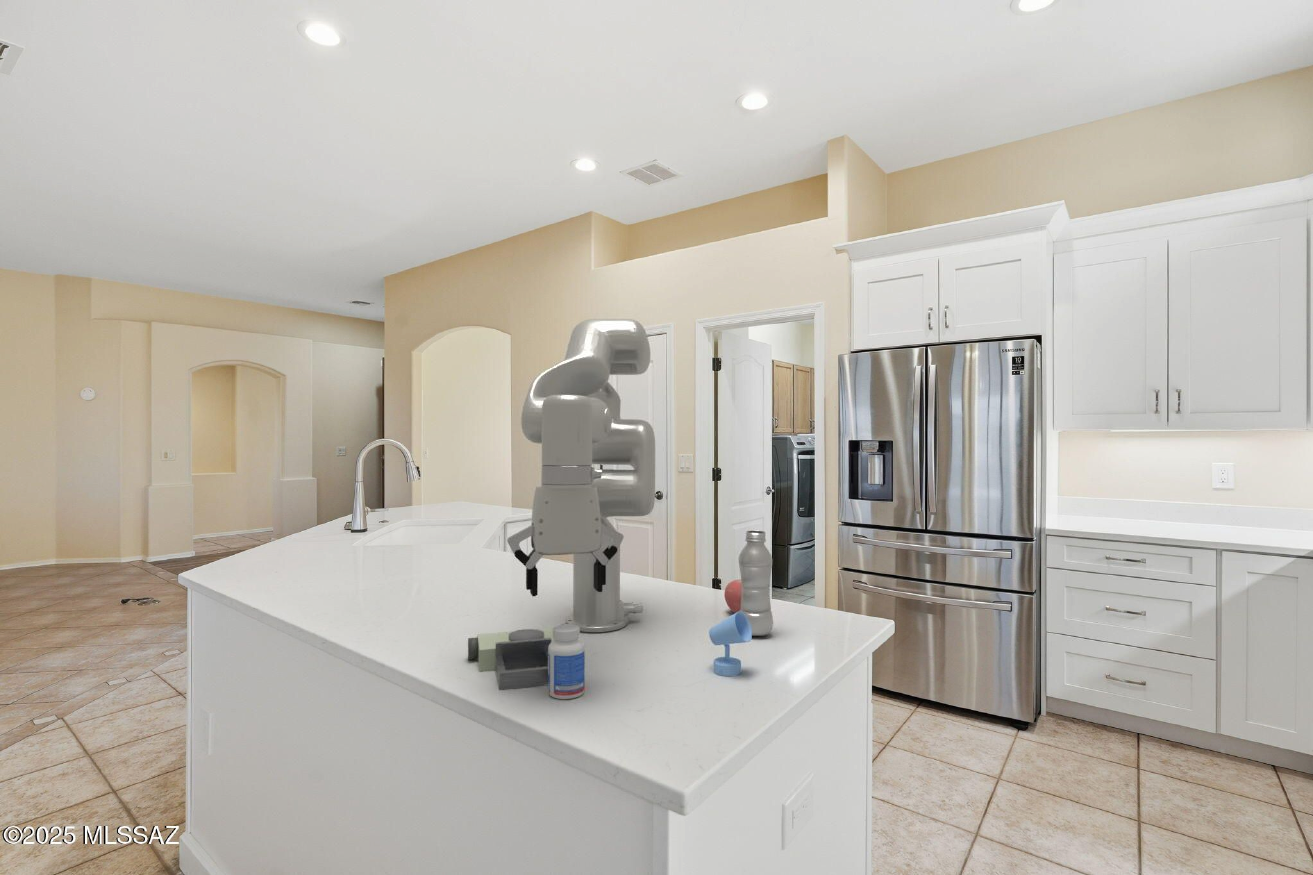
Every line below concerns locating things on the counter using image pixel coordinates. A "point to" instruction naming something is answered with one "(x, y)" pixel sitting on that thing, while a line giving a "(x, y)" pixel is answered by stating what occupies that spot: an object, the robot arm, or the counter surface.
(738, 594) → the apple
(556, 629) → the pill bottle
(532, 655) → the gray square tray
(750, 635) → the spotlight
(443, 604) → the counter surface
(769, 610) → the plastic bottle
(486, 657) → the green block with knobs
